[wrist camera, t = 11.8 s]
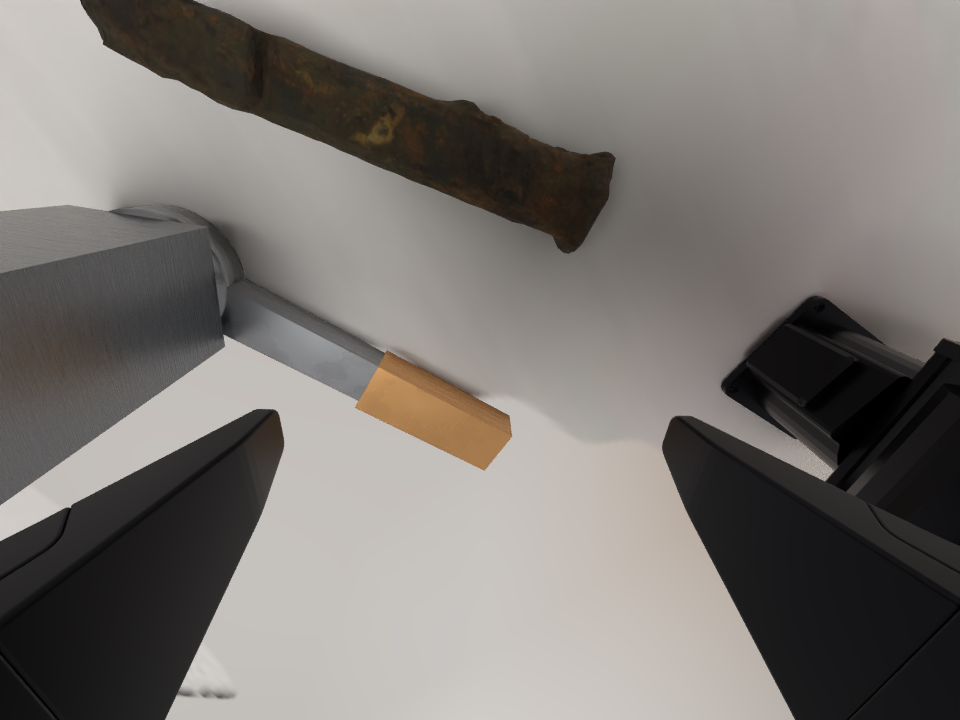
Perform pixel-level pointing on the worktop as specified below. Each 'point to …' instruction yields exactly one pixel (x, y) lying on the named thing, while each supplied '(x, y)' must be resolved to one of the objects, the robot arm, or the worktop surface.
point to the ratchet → (346, 359)
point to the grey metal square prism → (93, 326)
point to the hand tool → (363, 114)
